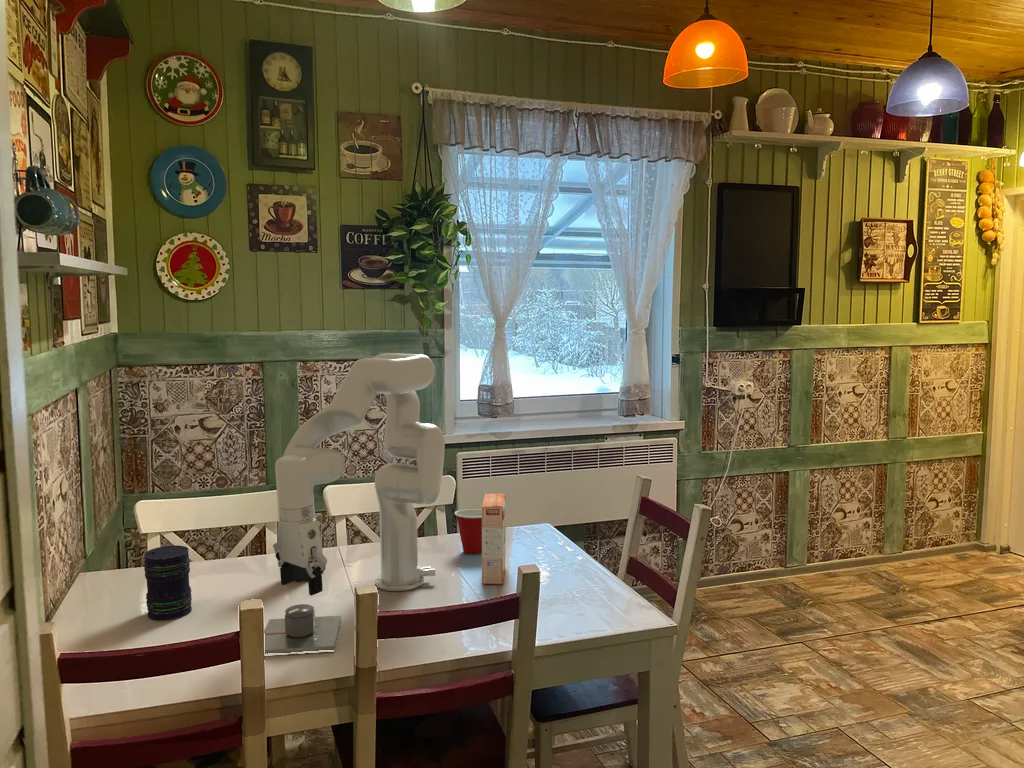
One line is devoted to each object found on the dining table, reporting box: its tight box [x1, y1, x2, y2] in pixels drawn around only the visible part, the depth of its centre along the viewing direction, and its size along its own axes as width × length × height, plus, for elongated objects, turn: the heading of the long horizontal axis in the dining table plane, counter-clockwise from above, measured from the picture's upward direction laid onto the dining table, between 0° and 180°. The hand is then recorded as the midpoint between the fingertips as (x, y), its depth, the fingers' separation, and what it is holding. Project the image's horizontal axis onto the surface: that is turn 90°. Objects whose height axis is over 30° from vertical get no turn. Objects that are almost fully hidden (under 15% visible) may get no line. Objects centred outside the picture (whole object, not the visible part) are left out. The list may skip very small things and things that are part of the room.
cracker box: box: [481, 493, 507, 585], centre depth 211 cm, size 14×6×21 cm, turn 178°
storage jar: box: [143, 545, 193, 622], centre depth 188 cm, size 10×10×15 cm
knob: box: [284, 603, 316, 637], centre depth 174 cm, size 6×6×5 cm
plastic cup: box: [454, 508, 482, 555], centre depth 232 cm, size 11×11×12 cm
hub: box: [264, 615, 342, 654], centre depth 174 cm, size 16×16×5 cm
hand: (301, 588), depth 174 cm, fingers open, 9 cm apart
